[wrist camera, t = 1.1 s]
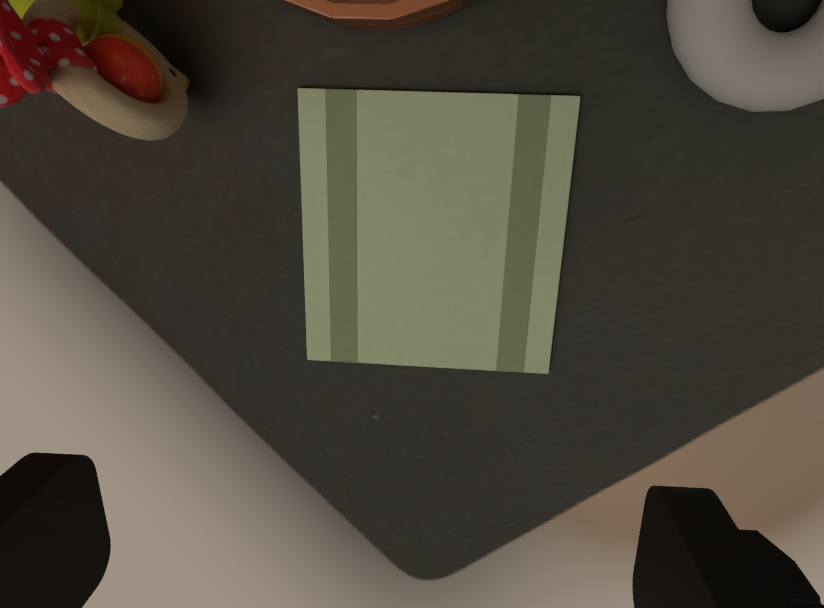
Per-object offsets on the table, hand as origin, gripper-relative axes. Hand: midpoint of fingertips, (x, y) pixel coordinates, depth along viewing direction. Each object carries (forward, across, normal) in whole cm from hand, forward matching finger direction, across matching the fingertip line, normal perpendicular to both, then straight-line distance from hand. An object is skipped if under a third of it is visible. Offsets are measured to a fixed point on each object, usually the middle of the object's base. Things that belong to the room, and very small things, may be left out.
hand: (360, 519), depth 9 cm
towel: (+24, 0, +2) cm, 24 cm away
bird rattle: (+25, +15, -8) cm, 30 cm away
